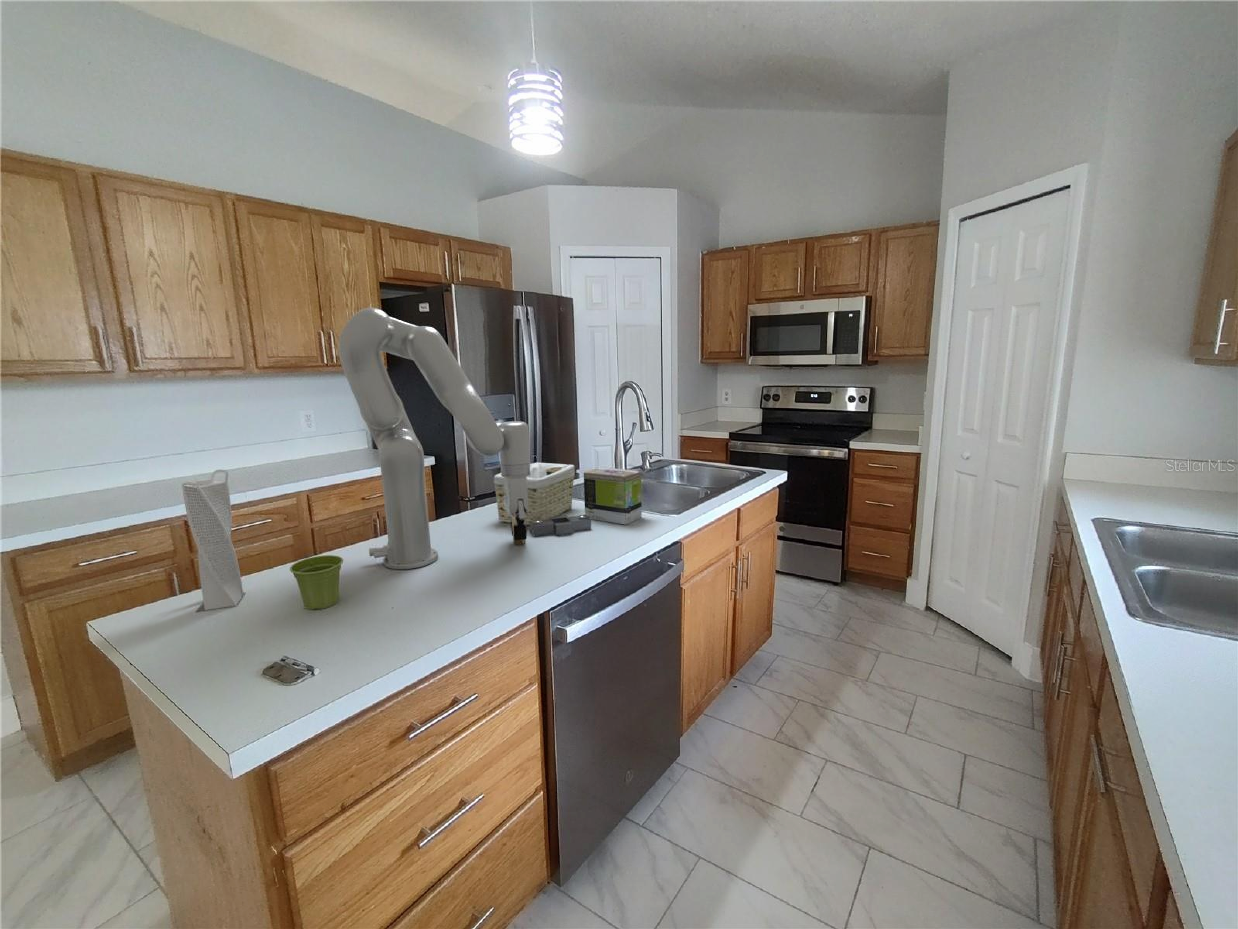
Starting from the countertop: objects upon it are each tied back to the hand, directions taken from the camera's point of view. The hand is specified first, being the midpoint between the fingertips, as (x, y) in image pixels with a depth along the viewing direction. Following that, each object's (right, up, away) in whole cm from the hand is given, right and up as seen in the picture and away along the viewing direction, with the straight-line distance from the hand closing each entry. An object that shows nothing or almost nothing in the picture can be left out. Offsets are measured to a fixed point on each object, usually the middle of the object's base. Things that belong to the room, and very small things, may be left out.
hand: (519, 536), depth 146 cm
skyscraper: (-55, -10, -32) cm, 64 cm away
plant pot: (-34, -9, -34) cm, 49 cm away
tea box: (+25, +3, +23) cm, 34 cm away
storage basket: (+1, +3, +27) cm, 27 cm away
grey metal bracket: (+10, 0, +11) cm, 15 cm away
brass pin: (0, -2, 0) cm, 2 cm away
